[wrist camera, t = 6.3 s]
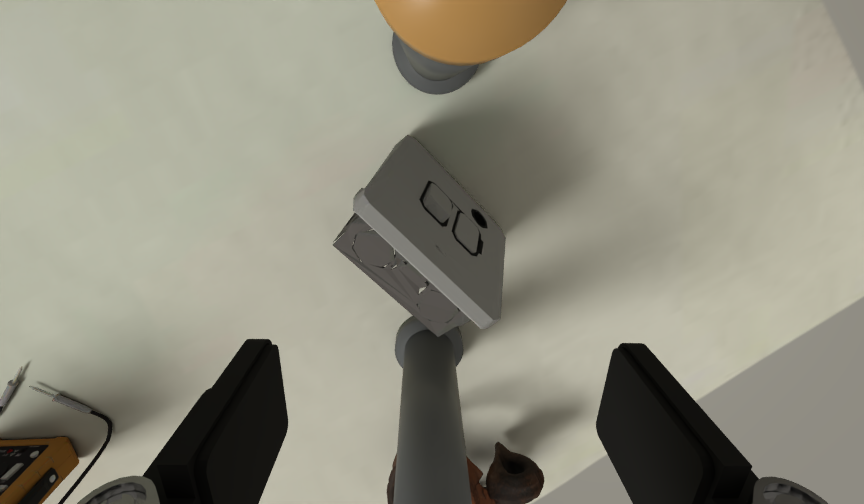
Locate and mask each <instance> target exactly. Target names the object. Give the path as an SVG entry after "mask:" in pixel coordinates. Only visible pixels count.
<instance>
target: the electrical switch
mask: <svg viewBox="0 0 864 504" xmlns="http://www.w3.org/2000/svg"><path fill="white" fill-rule="evenodd" d="M353 211H354V212H355V213H354V215H353V216H352V217H351V219H350V220H349V221H348V223H347V224H346V225H345V227H344V228H343V229H342V231H341V232H340V234H339V235H338V236H337V238H336V239H335V240H337V239H338V238H339V237H340V236H341V235H342V234H343V235H342V236H341V237H340V238H339V239H338V240H337V241H336V242H335V243H334V244H333V246H334V247H335V248H337V249H338V250H339V251H340V252H341V253H342V254H343V255H345V256H346V257H347V258H348V259H349V260H350V261H351V262H353V263H354V264H355V265H356V266H357V267H358V268H359V269H361V270H362V271H363V272H364V273H365V274H366V275H368V276H369V277H370V278H371V279H372V280H373V281H374V282H376V283H377V284H378V285H379V286H380V287H381V288H382V289H384V290H385V291H386V292H387V293H388V294H389V295H390V296H392V297H393V298H394V299H395V300H396V301H397V302H398V303H400V304H401V305H402V306H403V307H404V308H405V309H406V310H408V311H409V312H410V313H411V314H412V315H413V316H414V317H416V318H417V319H418V320H419V321H420V322H421V323H422V324H424V325H425V326H426V327H427V328H428V329H429V330H430V331H432V332H433V333H434V334H435V335H436V336H437V337H439V336H441V335H442V334H444V333H446V332H447V331H449V330H451V329H452V328H454V327H457V326H460V325H464V324H465V323H467V322H468V321H470V320H472V321H473V322H474V323H475V324H476V325H477V326H478V327H479V328H480V329H486V328H488V327H490V326H491V325H493V324H494V323H495V322H497V321H498V320H500V318H501V302H502V286H503V270H504V254H505V239H506V238H505V236H504V233H503V231H502V229H501V228H500V227H499V226H498V225H497V224H496V223H495V222H494V221H493V219H492V218H491V217H490V216H489V215H488V214H487V213H486V212H485V211H484V210H483V209H482V208H481V207H480V206H479V205H478V204H477V203H476V202H475V201H474V200H473V198H472V197H471V196H470V195H469V194H468V193H467V192H466V191H465V190H464V189H463V188H462V187H461V186H460V185H459V184H458V183H457V182H456V181H455V180H454V179H453V177H452V176H451V175H450V174H449V173H448V172H447V171H446V170H445V169H444V168H443V167H442V166H441V165H440V164H439V163H438V162H437V161H436V160H435V159H434V158H433V157H432V155H431V154H430V153H429V152H428V151H427V150H426V149H425V148H424V147H423V146H422V145H421V144H420V143H419V142H418V141H417V140H416V139H415V138H414V137H412V136H409V135H407V136H406V137H404V138H403V139H402V140H401V141H400V142H399V143H397V144H396V145H395V147H394V148H393V150H392V151H391V153H390V154H389V156H388V157H387V158H386V160H385V161H384V163H383V164H382V165H381V167H380V168H379V170H378V171H377V172H376V174H375V175H374V177H373V178H372V180H371V181H370V182H369V184H368V185H367V186H366V187H365V188H361V189H360V190H359V191H358V193H357V194H356V195H355V197H354V201H353ZM371 229H374V230H371ZM368 230H371V231H368ZM354 239H355V240H354ZM335 240H334V241H335ZM353 242H354V244H353ZM393 248H394V249H395V255H394V249H393ZM360 260H361V261H362V262H361V261H360ZM404 261H405V262H404ZM387 264H388V265H387ZM396 264H397V267H395V268H393V267H394V266H395V265H396ZM385 265H387V266H386V267H383V266H385ZM392 268H393V269H392ZM425 281H426V282H425ZM423 287H426V289H424V290H423V291H422V292H421V293H420V294H419V289H420V288H423ZM418 307H419V308H418ZM428 319H429V320H431V321H429V320H428Z"/></svg>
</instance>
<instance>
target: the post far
mask: <svg viewBox="0 0 864 504" xmlns="http://www.w3.org/2000/svg"><path fill="white" fill-rule="evenodd" d="M428 320H429V319H428ZM429 321H431V320H429ZM395 355H396V359H397V361H398V363H399V364H400V366H401V367H402V368H403V378H402V392H401V405H400V419H399V433H398V446H397V460H396V474H395V487H394V501H393V504H472V500H471V492H470V483H469V475H468V466H467V458H466V450H465V441H464V433H463V424H462V416H461V407H460V399H459V390H458V382H457V373H456V366H457V365H458V364H459V362H460V360H461V358H462V355H463V344H462V337H461V333H460V330H459V328H458V327H454V328H452V329H451V330H449V331H447V332H446V333H444V334H442V335H441V336H439V337H437V336H436V335H435V334H434V333H433V332H432V331H430V330H429V329H428V328H427V327H426V326H425V325H424V324H422V323H421V322H420V321H419V320H418V319H417V318H416V317H414V316H412V317H411V318H409V319H408V320H406V321H405V322H404V323H403V324H402V325H401V327H400V328H399V330H398V333H397V336H396V344H395Z"/></svg>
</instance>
